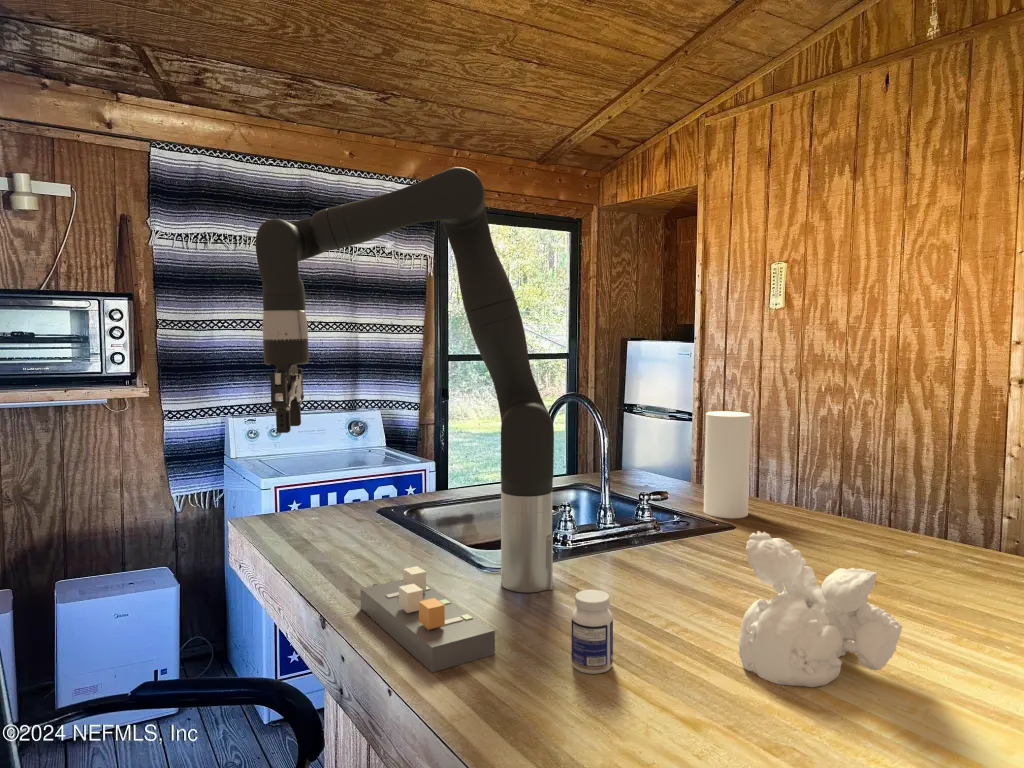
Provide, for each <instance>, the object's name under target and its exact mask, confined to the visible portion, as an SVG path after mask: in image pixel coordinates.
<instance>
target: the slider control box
mask: <svg viewBox="0 0 1024 768" xmlns="http://www.w3.org/2000/svg"><path fill="white" fill-rule="evenodd" d="M400 586H404V578H403V579H400V580H394V581H391V582H384V583H380V584H378V583H374V584H372V585H370V586H366V587H361V588H360V591H359V592H360V610H361V609H362V610H363V611H362V610H361V611H362V612H363V613H365V612H366V613H367V614H368V615H369V616H370V617H371V618H372V619H371V618H370V617H369V616H368V615H367V614H366V613H365V614H366V615H367V616H368V617H369V618H370V619H371V620H372V621H374V622H375V621H376V622H375V623H376V624H377V623H378V624H379V625H380V626H381V627H380V626H379V627H380V628H381V629H383V631H384V632H386V633H387V634H388V635H389V636H390V637H392V638H393V640H394V641H396V642H397V643H399V645H401V646H402V647H403V648H404V649H405V650H406V651H408V652H409V653H410V654H411V656H413V657H414V658H415V659H417V661H419V662H420V663H421V664H422V665H423V666H424V667H425V668H426V669H428V670H429V671H430V672H431V673H435V672H438V671H441V670H446V669H449V668H451V667H455V666H458V665H462V664H465V663H469V662H473V661H476V660H477V661H478V660H480V659H483V658H486V657H489V656H493V655H495V654H496V630H495V629H494V628H492V627H491V626H489V625H488V624H486V623H484V621H481V620H480V619H479V618H477V617H475V616H474V615H473V614H472V613H469V611H467V610H465V609H463V608H462V607H461V606H459V605H458V604H457V603H456V602H453V601H452V600H450V599H449V598H448V597H446V596H445V595H443V594H442V593H440V592H438V591H437V590H436V589H434V588H433V587H432V586H430V585H428V584H427V583H426V590H423V600H427V599H432V598H435V599H437V600H438V601H439V602H441V603H442V604H444V605H445V625H444V626H440V627H436V628H432V629H428V628H427V627H425V626H424V625H423V624H421V623H420V622H419V610H418V611H413V612H409V613H408V612H406V611H405V610H404V609H402V608H401V607H400V606H399V587H400ZM378 624H377V625H378Z"/></svg>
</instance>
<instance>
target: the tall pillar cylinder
mask: <svg viewBox="0 0 1024 768" xmlns="http://www.w3.org/2000/svg"><path fill="white" fill-rule="evenodd" d="M751 423H752V415H751V414H750V413H748V412H741V411H730V410H729V411H727V410H725V411H724V410H719V411H718V410H717V411H714V410H713V411H707V412H706V413H705V438H704V439H705V441H704V442H705V443H704V478H703V479H704V482H703V483H704V484H703V485H704V486H703V513H705V515H708V516H711V517H715V518H722V519H742V518H746V517H748V515H749V498H750V496H749V494H750V492H749V491H750V465H751V463H750V462H751V460H750V459H751V433H752V432H751V427H752V425H751Z"/></svg>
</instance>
